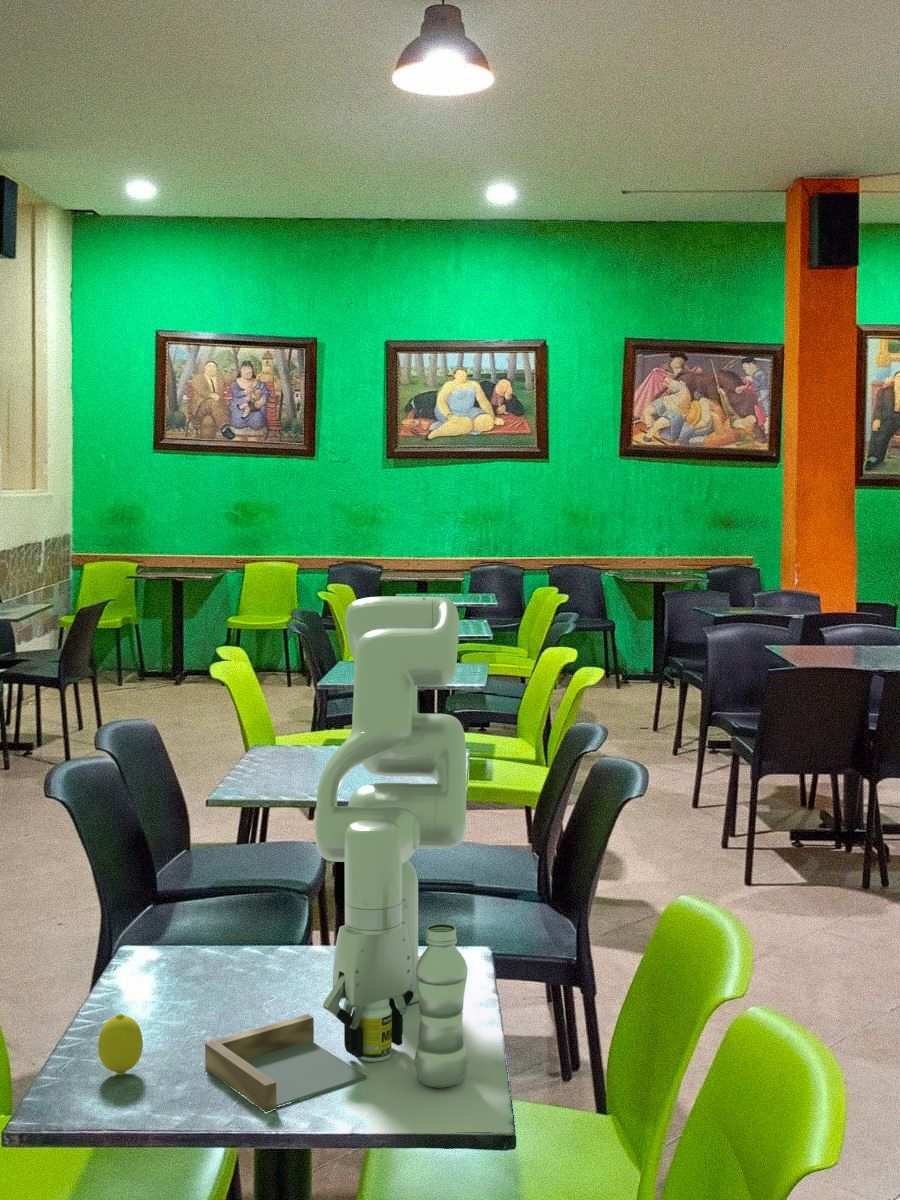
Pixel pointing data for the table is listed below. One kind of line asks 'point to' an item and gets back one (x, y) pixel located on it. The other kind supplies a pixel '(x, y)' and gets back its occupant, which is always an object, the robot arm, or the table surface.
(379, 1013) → the supplement bottle
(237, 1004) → the table surface
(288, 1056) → the mat
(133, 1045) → the lemon
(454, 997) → the plastic bottle
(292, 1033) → the corner walls
